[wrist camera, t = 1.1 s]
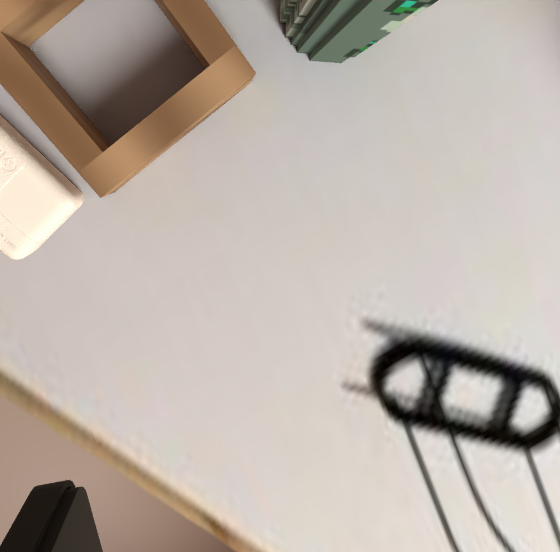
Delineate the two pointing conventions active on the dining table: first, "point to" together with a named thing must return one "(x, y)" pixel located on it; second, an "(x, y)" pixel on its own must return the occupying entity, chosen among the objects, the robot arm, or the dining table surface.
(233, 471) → the dining table surface
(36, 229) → the soap
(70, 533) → the robot arm
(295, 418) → the dining table surface
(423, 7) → the can
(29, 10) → the socket
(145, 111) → the dining table surface
